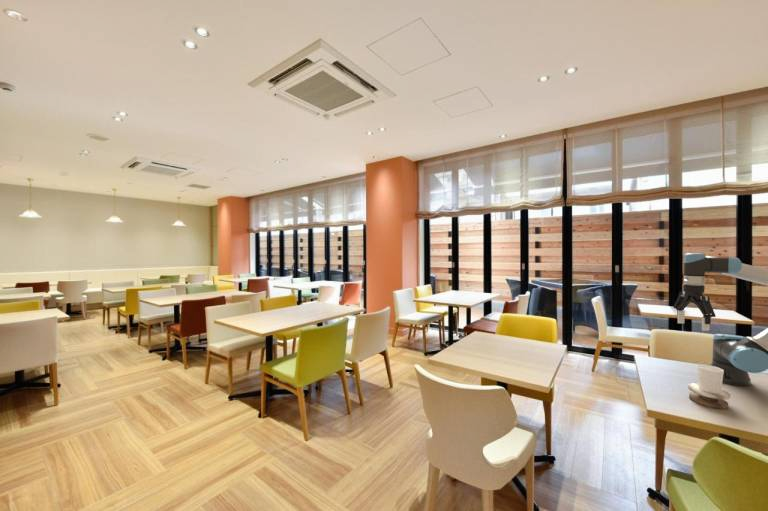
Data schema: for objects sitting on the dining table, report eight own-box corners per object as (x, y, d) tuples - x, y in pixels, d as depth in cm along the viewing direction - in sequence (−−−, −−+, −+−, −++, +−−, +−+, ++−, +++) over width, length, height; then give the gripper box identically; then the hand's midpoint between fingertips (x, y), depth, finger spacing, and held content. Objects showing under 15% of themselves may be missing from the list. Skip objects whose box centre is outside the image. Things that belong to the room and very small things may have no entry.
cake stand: (711, 395, 145) (711, 383, 144) (739, 410, 132) (739, 398, 131) (679, 394, 146) (680, 382, 146) (704, 408, 133) (705, 396, 133)
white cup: (712, 386, 141) (713, 365, 141) (728, 395, 134) (729, 372, 133) (692, 385, 143) (693, 363, 142) (706, 393, 135) (707, 371, 135)
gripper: (665, 281, 168) (664, 320, 169) (709, 288, 143) (708, 334, 144) (680, 281, 167) (679, 320, 168) (727, 288, 143) (726, 334, 143)
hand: (692, 326), depth 156 cm, fingers open, 13 cm apart
